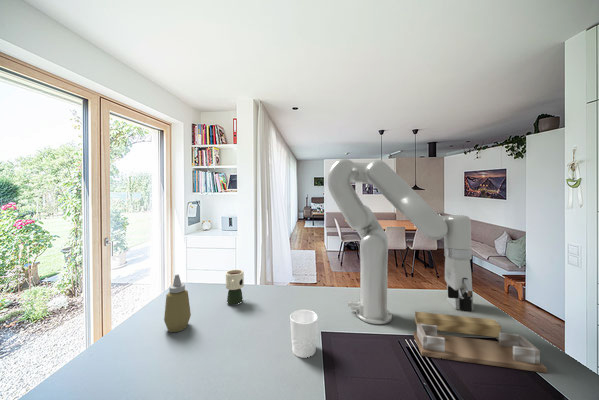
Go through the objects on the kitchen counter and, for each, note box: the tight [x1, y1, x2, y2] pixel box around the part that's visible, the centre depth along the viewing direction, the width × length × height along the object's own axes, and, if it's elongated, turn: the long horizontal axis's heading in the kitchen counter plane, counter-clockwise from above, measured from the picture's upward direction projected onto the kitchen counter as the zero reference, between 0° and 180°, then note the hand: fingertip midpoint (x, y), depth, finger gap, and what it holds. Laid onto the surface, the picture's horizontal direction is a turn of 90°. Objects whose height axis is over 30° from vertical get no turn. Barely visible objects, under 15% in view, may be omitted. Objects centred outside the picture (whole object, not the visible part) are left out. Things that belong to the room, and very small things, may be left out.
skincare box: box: [446, 273, 474, 312], centre depth 97 cm, size 8×7×16 cm
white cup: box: [289, 309, 319, 359], centre depth 70 cm, size 8×8×10 cm
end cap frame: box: [412, 323, 548, 374], centre depth 69 cm, size 29×10×5 cm, turn 77°
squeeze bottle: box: [163, 273, 192, 333], centre depth 82 cm, size 8×8×18 cm
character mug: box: [225, 269, 245, 305], centre depth 100 cm, size 11×7×13 cm, turn 6°
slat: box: [414, 311, 502, 338], centre depth 81 cm, size 24×4×4 cm, turn 77°
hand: (459, 304), depth 80 cm, fingers open, 9 cm apart
